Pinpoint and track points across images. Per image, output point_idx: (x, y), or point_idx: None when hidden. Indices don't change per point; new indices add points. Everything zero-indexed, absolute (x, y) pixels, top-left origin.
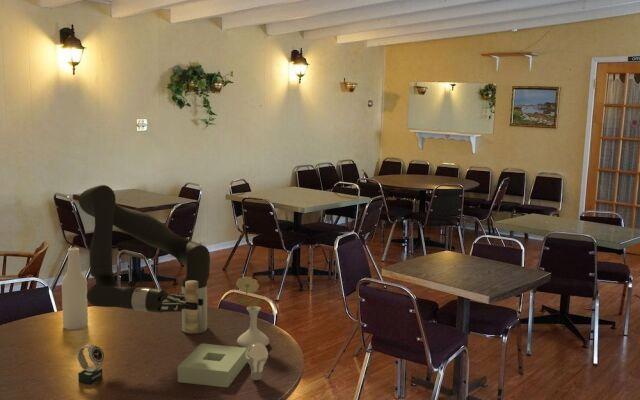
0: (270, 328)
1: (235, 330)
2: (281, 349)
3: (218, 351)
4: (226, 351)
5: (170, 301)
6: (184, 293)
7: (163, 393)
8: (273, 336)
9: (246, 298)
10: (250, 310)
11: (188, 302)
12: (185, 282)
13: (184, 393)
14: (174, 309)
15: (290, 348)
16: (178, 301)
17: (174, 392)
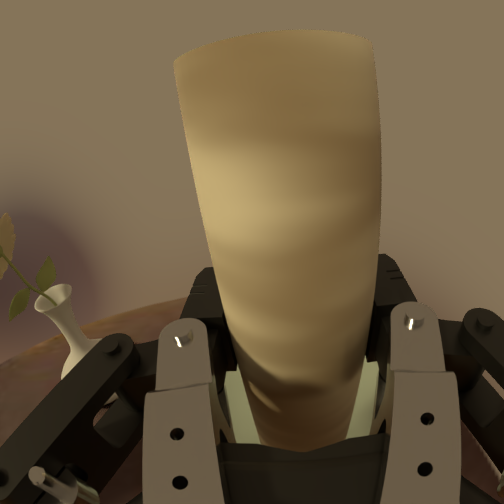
0: (23, 357)
1: (9, 419)
2: (133, 327)
3: (245, 410)
4: (240, 387)
5: (476, 489)
6: (28, 424)
7: (487, 468)
8: (61, 349)
9: (27, 283)
10: (66, 299)
11: (388, 286)
12: (340, 32)
13: (462, 426)
14: (487, 413)
15: (130, 315)
16: (444, 370)
17: (470, 450)
